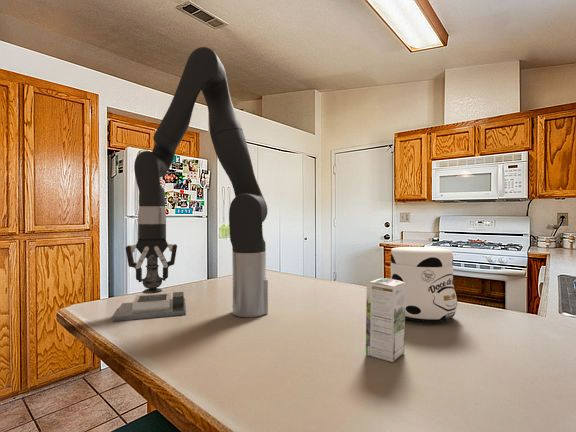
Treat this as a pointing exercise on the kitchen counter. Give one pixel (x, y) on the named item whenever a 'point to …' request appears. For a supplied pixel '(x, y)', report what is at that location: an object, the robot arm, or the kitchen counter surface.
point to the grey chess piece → (152, 276)
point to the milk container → (425, 282)
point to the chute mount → (152, 307)
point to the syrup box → (385, 319)
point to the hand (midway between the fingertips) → (152, 280)
